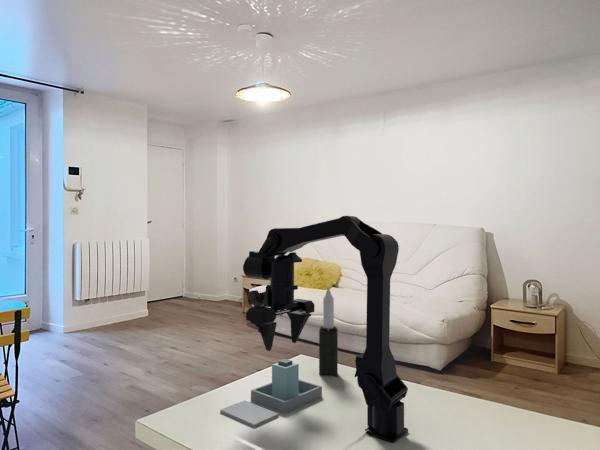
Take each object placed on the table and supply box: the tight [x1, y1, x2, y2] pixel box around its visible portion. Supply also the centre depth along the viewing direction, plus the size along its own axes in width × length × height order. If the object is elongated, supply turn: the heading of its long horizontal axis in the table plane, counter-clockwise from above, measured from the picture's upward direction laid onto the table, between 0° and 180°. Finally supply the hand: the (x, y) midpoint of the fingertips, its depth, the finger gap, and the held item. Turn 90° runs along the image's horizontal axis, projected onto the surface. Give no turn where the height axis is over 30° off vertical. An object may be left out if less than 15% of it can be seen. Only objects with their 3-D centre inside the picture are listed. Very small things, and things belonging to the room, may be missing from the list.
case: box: [250, 379, 323, 414], centre depth 102 cm, size 12×13×3 cm
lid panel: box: [219, 400, 279, 429], centre depth 92 cm, size 11×7×1 cm, turn 49°
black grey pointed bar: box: [318, 285, 339, 378], centre depth 120 cm, size 5×5×25 cm
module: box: [271, 358, 300, 401], centre depth 102 cm, size 4×4×9 cm
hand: (281, 346), depth 101 cm, fingers open, 9 cm apart
